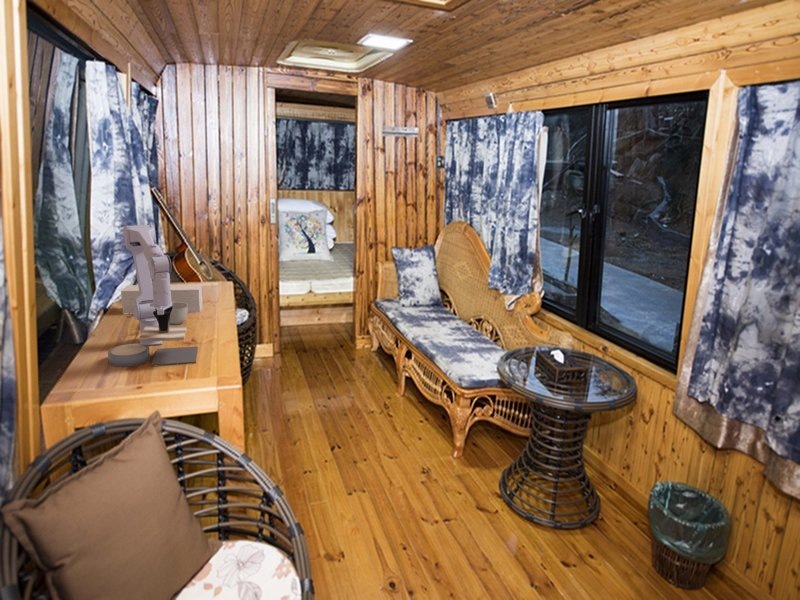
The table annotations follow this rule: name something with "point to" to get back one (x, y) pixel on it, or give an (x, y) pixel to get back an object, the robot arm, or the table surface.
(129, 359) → the bowl
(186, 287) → the pale grey long block
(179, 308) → the teacup
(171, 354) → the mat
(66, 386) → the table surface
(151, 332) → the lid
